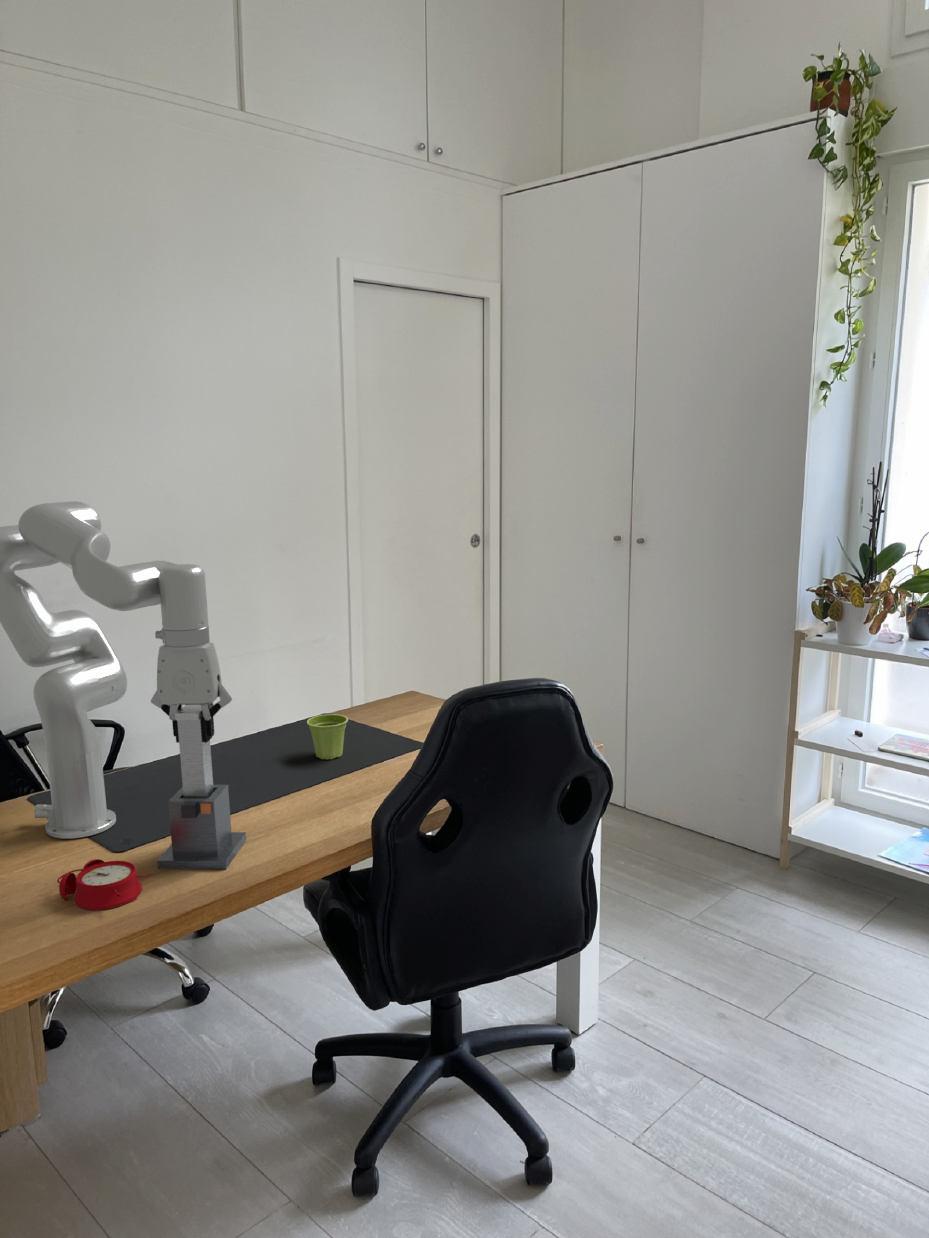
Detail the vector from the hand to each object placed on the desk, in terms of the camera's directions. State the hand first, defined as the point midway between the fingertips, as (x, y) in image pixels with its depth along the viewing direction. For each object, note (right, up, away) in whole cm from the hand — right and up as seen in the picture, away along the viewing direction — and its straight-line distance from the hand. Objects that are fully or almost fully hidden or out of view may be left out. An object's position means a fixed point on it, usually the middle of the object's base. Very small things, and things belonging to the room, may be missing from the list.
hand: (194, 739), depth 163 cm
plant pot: (+15, -11, +55) cm, 58 cm away
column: (0, -15, +3) cm, 16 cm away
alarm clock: (-12, -24, -10) cm, 29 cm away
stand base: (0, -21, +4) cm, 21 cm away
